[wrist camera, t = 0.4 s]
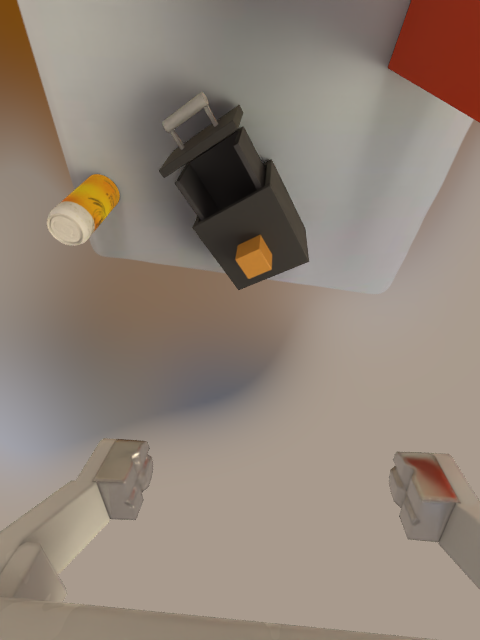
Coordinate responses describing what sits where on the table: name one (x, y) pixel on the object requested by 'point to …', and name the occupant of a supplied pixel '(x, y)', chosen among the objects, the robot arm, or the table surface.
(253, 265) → the block
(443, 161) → the table surface
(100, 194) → the vitamin bottle
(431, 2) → the file binder
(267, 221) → the dark grey open box
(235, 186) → the drawer
